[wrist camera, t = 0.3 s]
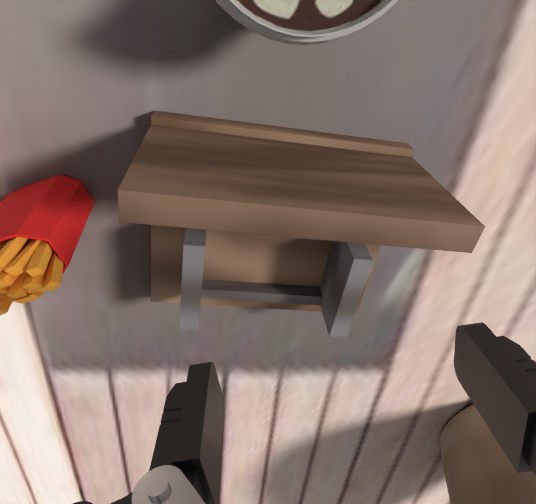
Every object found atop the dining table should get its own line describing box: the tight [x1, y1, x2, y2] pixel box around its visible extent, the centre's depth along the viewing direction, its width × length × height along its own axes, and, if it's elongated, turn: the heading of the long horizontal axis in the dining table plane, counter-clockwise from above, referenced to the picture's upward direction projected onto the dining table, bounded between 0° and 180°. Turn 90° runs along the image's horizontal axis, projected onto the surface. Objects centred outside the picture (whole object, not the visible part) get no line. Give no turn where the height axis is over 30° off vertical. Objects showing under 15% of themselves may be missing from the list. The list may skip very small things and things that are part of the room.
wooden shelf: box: [118, 111, 485, 337], centre depth 31 cm, size 17×20×12 cm
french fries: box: [0, 175, 94, 315], centre depth 28 cm, size 9×4×13 cm, turn 108°
